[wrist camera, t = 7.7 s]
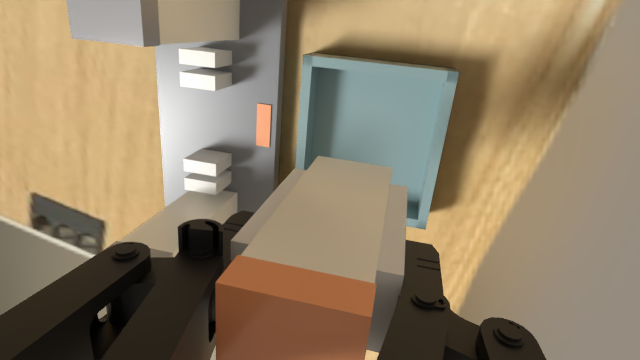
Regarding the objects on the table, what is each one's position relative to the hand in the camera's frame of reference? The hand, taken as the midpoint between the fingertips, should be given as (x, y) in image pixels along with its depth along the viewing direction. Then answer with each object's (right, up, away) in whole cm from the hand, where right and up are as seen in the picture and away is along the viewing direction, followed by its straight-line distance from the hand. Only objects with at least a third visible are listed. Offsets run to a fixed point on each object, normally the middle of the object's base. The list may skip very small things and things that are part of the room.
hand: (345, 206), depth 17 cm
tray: (+2, +4, +10) cm, 11 cm away
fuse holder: (-8, +6, +12) cm, 16 cm away
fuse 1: (-8, +12, +8) cm, 17 cm away
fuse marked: (0, 0, +1) cm, 1 cm away
